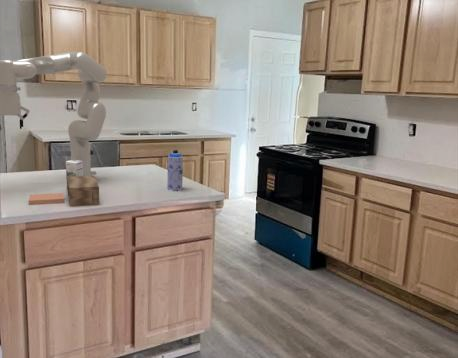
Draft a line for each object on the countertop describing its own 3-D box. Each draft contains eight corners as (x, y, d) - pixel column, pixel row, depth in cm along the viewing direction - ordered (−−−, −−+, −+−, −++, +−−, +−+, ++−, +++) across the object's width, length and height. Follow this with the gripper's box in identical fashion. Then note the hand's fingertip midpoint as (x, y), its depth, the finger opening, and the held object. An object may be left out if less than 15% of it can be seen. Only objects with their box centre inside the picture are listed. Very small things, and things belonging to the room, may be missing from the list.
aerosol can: (179, 191, 220) (180, 151, 216) (164, 190, 222) (165, 150, 217) (184, 188, 228) (185, 149, 223) (170, 186, 229) (170, 148, 225)
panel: (29, 206, 188) (29, 200, 187) (30, 199, 197) (29, 194, 196) (64, 204, 193) (64, 198, 192) (63, 198, 202) (63, 192, 201)
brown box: (70, 206, 188) (69, 188, 186) (67, 193, 208) (67, 176, 206) (99, 204, 193) (98, 186, 191) (94, 192, 212) (93, 175, 211)
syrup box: (84, 189, 216) (83, 160, 213) (76, 192, 210) (75, 162, 207) (74, 188, 218) (73, 159, 214) (66, 191, 212) (65, 161, 209)
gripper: (28, 90, 201) (29, 127, 204) (-15, 87, 193) (-13, 127, 197) (29, 90, 194) (30, 129, 198) (-16, 88, 187) (-14, 129, 190)
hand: (8, 128), depth 197 cm, fingers open, 9 cm apart
